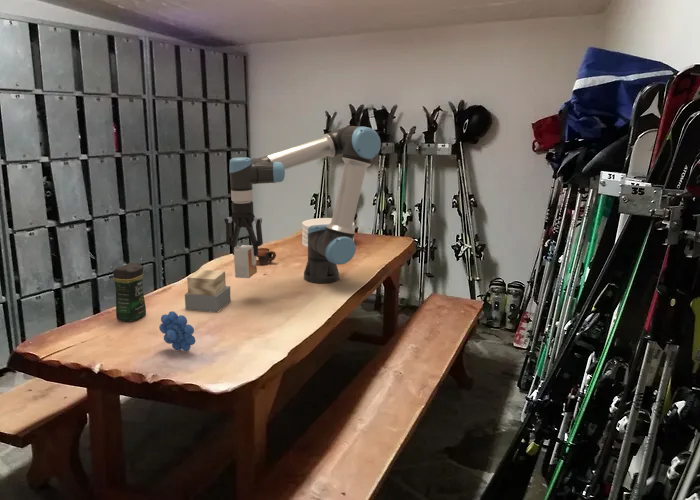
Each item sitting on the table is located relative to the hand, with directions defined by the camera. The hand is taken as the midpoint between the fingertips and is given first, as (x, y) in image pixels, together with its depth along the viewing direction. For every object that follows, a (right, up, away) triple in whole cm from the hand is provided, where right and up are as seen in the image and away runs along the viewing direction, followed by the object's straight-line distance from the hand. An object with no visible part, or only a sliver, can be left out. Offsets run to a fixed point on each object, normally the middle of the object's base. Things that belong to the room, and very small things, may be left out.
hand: (245, 263), depth 199 cm
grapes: (-12, -25, -41) cm, 50 cm away
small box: (0, -5, +1) cm, 5 cm away
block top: (-13, -10, -5) cm, 17 cm away
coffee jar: (-35, -18, -16) cm, 43 cm away
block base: (-13, -15, -3) cm, 20 cm away
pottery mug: (-2, -1, +53) cm, 53 cm away
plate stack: (+27, +8, +93) cm, 97 cm away
